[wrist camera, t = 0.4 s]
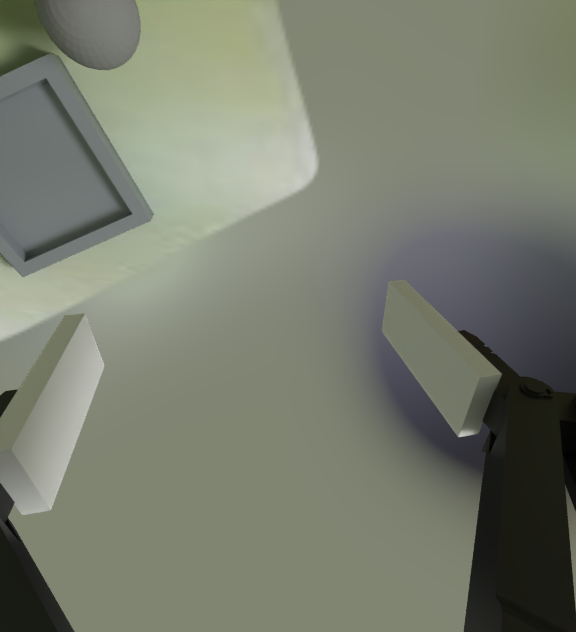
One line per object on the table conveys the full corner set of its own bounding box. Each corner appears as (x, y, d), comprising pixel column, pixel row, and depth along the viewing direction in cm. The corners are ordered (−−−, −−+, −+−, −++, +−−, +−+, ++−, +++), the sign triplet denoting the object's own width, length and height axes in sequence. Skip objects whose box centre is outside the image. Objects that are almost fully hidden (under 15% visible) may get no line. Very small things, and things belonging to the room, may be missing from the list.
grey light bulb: (81, 70, 30) (32, 61, 22) (64, -26, 27) (-1, -81, 19) (157, 78, 31) (138, 72, 23) (149, -13, 28) (123, -60, 20)
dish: (-93, 126, 30) (-113, 129, 28) (59, 56, 29) (48, 53, 27) (31, 268, 37) (22, 277, 36) (153, 214, 37) (150, 220, 35)
